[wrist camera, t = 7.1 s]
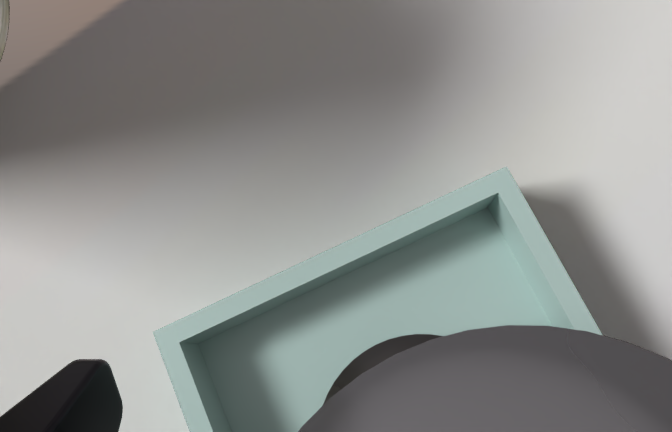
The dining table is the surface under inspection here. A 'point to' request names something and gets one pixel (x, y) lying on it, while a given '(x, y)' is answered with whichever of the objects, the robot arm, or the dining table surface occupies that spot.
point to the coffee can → (3, 24)
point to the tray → (367, 307)
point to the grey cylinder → (501, 384)
